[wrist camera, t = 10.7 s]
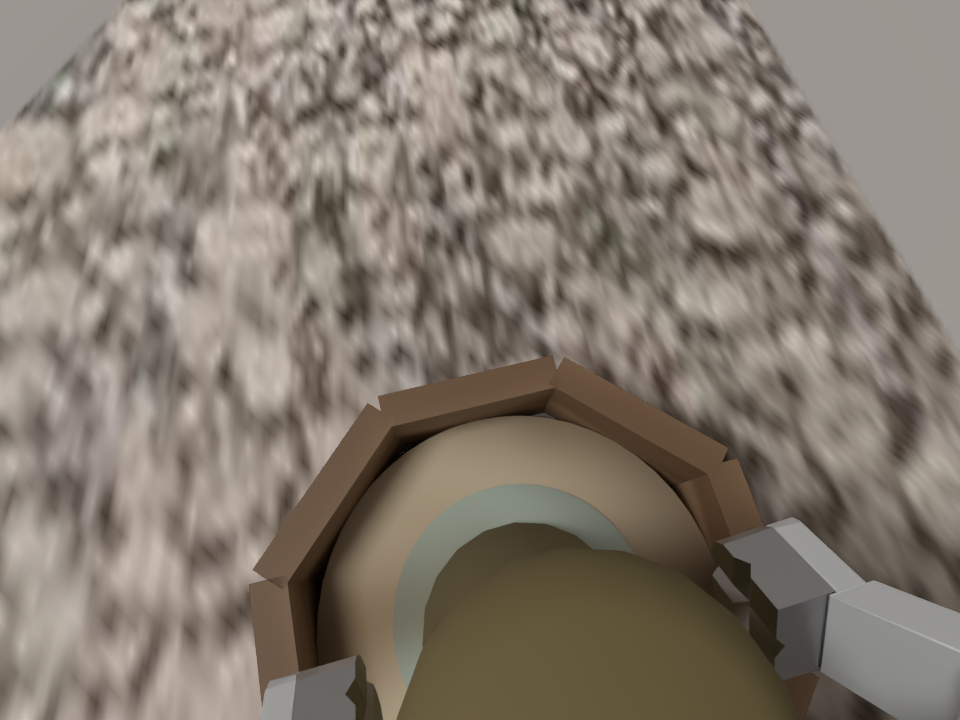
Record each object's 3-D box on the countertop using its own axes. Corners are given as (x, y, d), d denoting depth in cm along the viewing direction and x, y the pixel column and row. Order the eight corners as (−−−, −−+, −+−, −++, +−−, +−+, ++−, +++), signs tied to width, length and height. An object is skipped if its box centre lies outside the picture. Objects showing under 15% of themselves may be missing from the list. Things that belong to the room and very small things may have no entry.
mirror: (823, 808, 16) (896, 860, 13) (333, 965, 15) (300, 1060, 12) (655, 356, 21) (684, 324, 18) (267, 449, 19) (232, 430, 17)
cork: (431, 767, 15) (340, 1297, 5) (413, 534, 17) (317, 546, 6) (652, 738, 16) (1027, 1180, 5) (613, 510, 17) (833, 484, 7)
